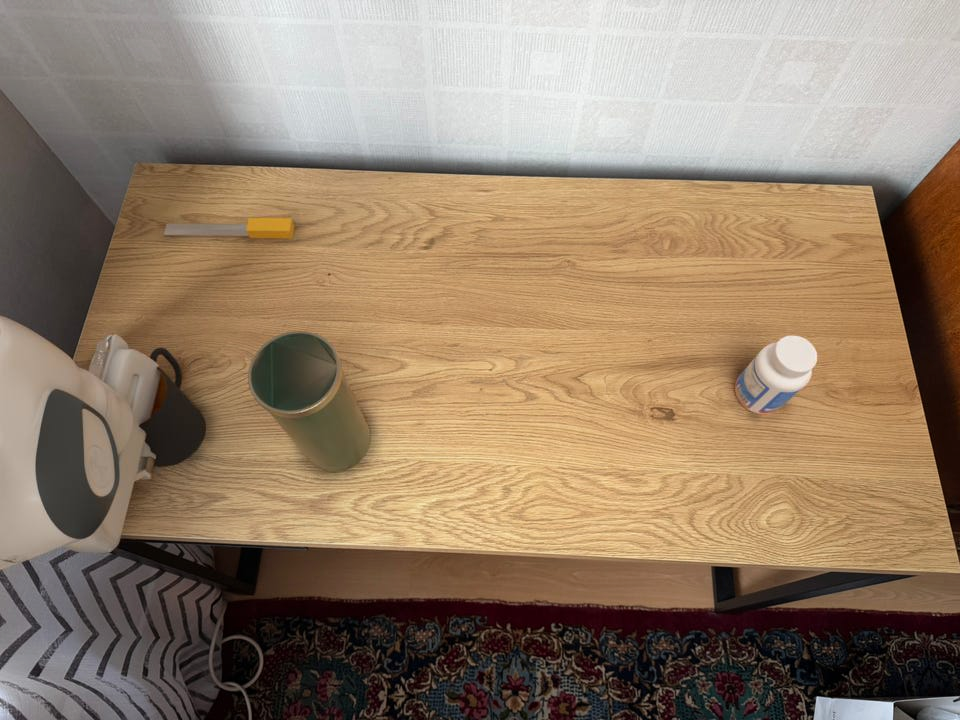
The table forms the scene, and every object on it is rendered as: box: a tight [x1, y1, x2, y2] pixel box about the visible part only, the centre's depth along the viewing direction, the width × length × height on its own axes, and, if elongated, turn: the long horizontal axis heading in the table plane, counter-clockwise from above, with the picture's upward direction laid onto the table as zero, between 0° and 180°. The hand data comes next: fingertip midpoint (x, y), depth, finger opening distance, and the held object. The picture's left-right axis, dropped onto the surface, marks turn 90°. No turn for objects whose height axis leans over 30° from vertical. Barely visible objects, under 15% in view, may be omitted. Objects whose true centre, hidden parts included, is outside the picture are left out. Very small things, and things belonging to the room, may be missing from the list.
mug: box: [139, 347, 206, 468], centre depth 72 cm, size 8×12×10 cm
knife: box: [163, 217, 296, 240], centre depth 88 cm, size 18×2×2 cm, turn 89°
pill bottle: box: [734, 335, 818, 415], centre depth 74 cm, size 6×6×11 cm
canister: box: [247, 330, 372, 473], centre depth 67 cm, size 8×8×20 cm
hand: (147, 467), depth 70 cm, fingers closed
